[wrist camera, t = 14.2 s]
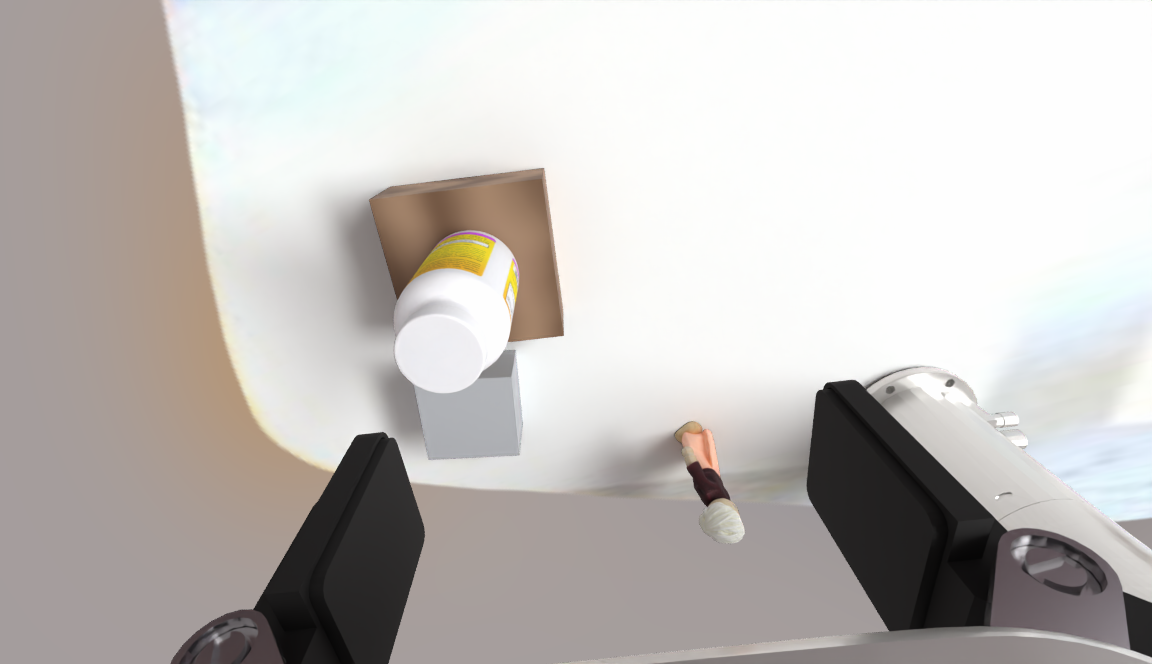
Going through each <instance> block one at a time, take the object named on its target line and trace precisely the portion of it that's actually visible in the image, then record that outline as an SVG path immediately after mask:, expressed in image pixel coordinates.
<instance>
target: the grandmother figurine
mask: <svg viewBox="0 0 1152 664" xmlns="http://www.w3.org/2000/svg"><path fill="white" fill-rule="evenodd" d="M675 438H676V439H677V441H679V442H680V443H682V445H683V447H684V448H683V449H682V455H683V457H684V458H685V463H686V465H687V470H688V472H689V473H690V474H691V476H692V477H693V482H694V488H695V490H696V491H697V493H698V495H699V496H700V498H701V500H702V501H703V503H704V504H705V505H706V506H707V508H706V509H704V511H703V514H701V516H700V518H699V525H700V526H701V528H702V530H703V532H704V533H705V534H707V535H708V536H710V537H712V538H713V539H714V540H715V541H716V542H718V543H728V544H729V543H730V544H731V543H737V542H739V541H740V540H741V539H742V538H743V536H744V534H745V530H744V526H743V523H742V521H741V519H740V515H739V511H738V509H737V507H736V505H735V504H734V503H733V502H732V501H731V500H730V497H729V494H728V492H727V491H726V489H725V488H724V486H723V483H722V480H721V478H720V472H719V466H718V460H717V455H716V448H715V444H714V439H713V436H712V433H711V431H710V430H709V429H705V430H704V431H703V432H702V427H701V425H700V424H699V423H697V422H693V421H692V422H689V423H687V424H685V425H684V426H683V427H682V428H680V429H679V430H678V431H677V432H676V433H675Z"/></svg>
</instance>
